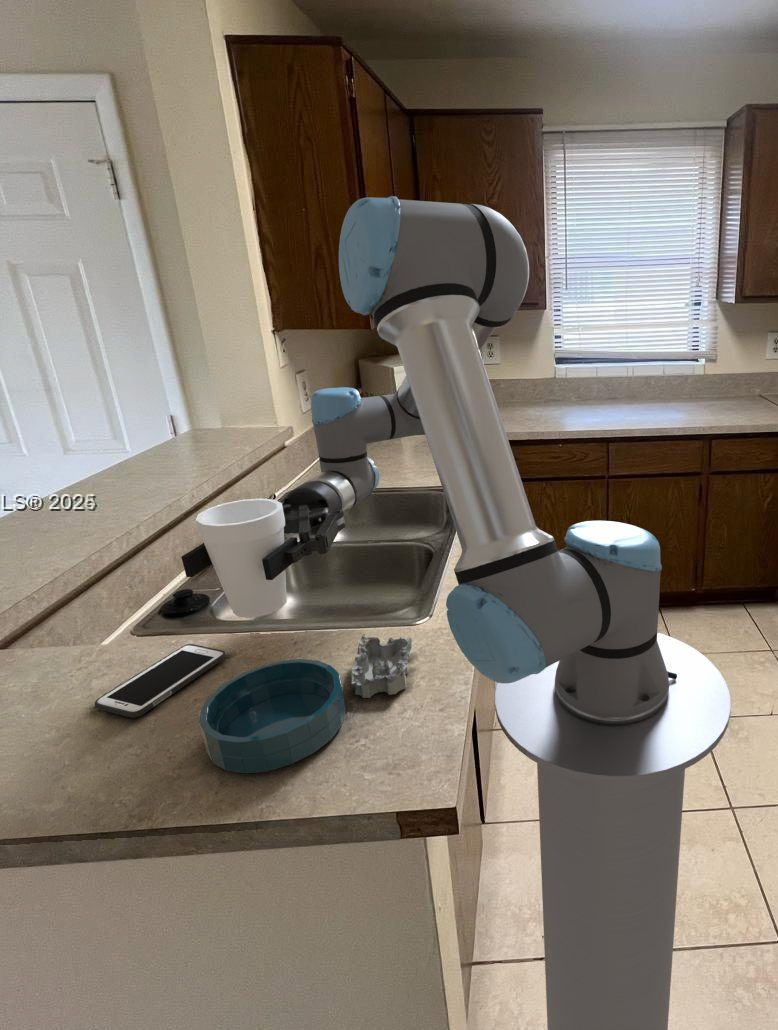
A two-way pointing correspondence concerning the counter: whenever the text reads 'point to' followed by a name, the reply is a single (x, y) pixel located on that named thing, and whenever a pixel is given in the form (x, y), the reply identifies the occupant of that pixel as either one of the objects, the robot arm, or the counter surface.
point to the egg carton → (381, 666)
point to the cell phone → (159, 680)
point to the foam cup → (245, 552)
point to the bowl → (272, 715)
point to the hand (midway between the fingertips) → (226, 568)
